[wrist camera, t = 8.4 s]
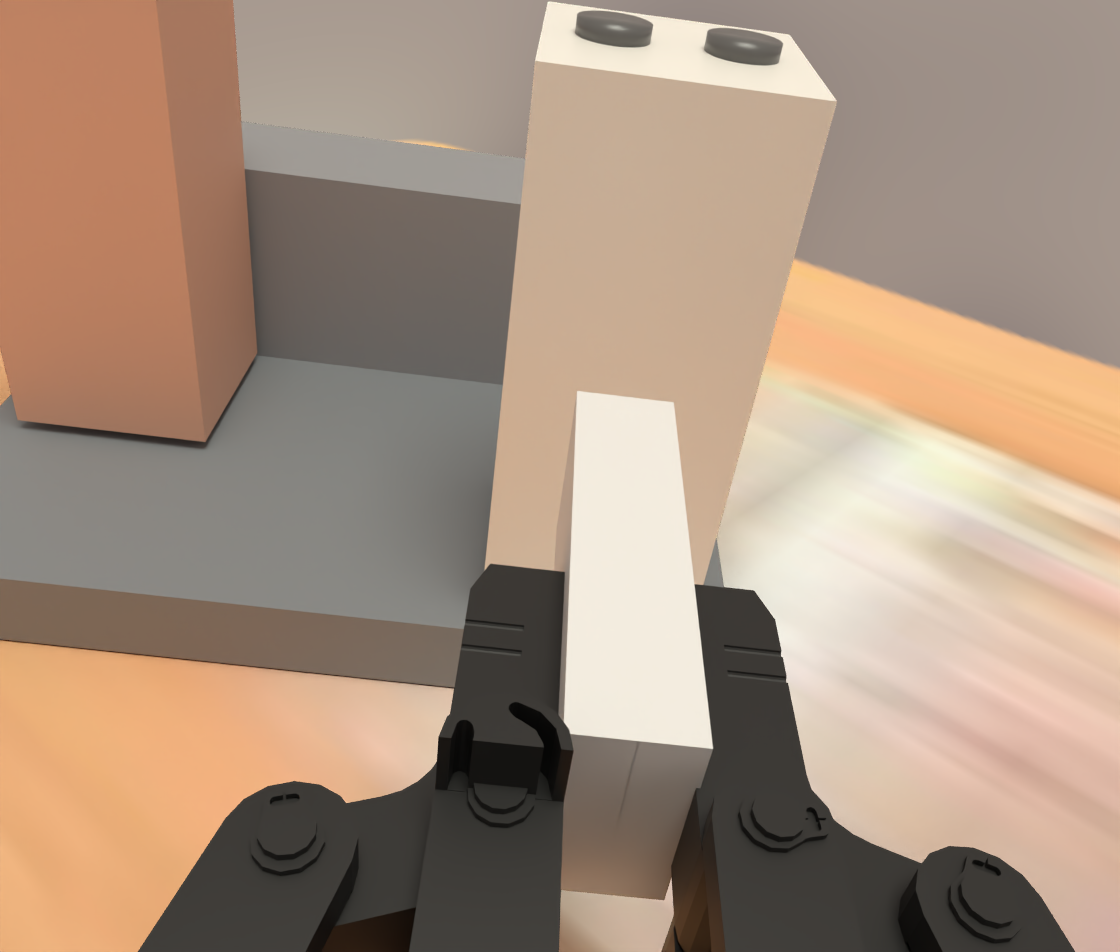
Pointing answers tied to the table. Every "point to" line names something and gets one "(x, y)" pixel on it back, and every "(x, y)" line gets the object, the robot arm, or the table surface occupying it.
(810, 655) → the table surface
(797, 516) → the table surface
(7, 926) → the table surface
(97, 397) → the button terracotta
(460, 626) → the grey l-shaped bracket
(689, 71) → the white block with dots
